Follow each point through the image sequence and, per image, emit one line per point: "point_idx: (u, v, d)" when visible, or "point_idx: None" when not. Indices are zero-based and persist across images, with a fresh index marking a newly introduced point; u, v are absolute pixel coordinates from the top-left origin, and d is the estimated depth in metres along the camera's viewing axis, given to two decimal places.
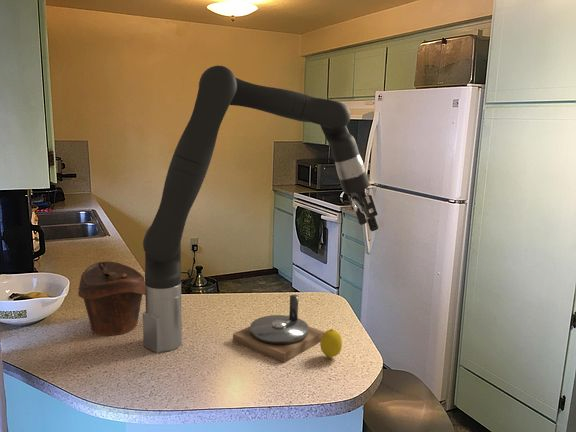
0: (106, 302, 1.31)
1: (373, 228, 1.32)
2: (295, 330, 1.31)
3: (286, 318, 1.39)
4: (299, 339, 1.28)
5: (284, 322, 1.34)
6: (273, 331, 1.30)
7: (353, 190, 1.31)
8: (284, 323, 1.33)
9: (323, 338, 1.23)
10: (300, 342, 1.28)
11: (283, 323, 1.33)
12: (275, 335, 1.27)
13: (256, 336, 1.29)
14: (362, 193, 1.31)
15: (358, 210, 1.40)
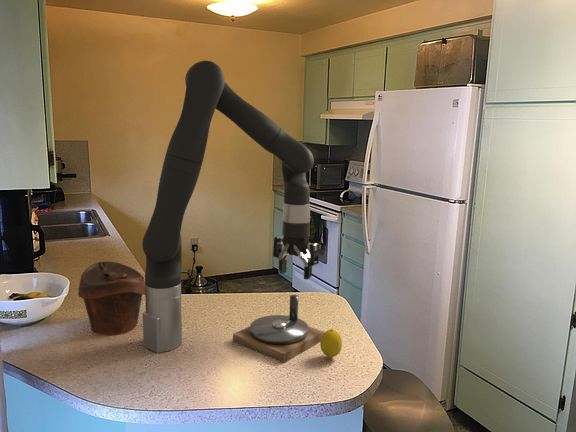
0: (106, 302, 1.31)
1: (309, 276, 1.33)
2: (295, 330, 1.31)
3: (286, 318, 1.39)
4: (299, 339, 1.28)
5: (284, 322, 1.34)
6: (273, 331, 1.30)
7: (300, 235, 1.31)
8: (284, 323, 1.33)
9: (323, 338, 1.23)
10: (300, 342, 1.28)
11: (283, 323, 1.33)
12: (275, 335, 1.27)
13: (256, 336, 1.29)
14: (306, 240, 1.32)
15: (283, 258, 1.38)
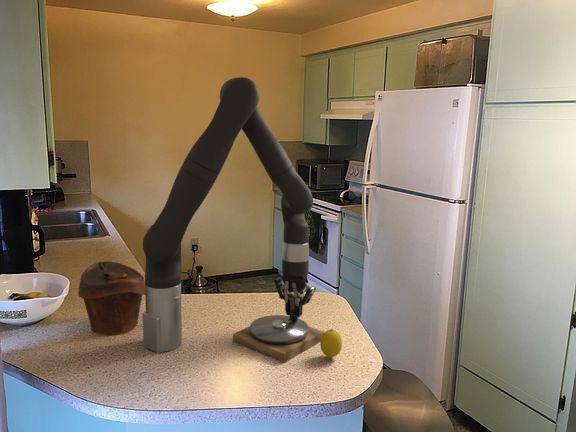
0: (106, 302, 1.31)
1: (299, 315, 1.37)
2: (295, 330, 1.31)
3: (286, 318, 1.39)
4: (299, 339, 1.28)
5: (284, 322, 1.34)
6: (273, 331, 1.30)
7: (299, 274, 1.33)
8: (284, 323, 1.33)
9: (323, 338, 1.23)
10: (300, 342, 1.28)
11: (283, 323, 1.33)
12: (275, 335, 1.27)
13: (256, 336, 1.29)
14: (305, 278, 1.34)
15: (289, 300, 1.38)
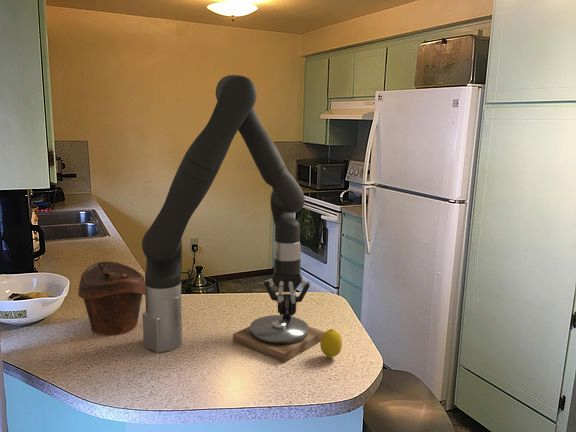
0: (106, 302, 1.31)
1: (295, 312, 1.39)
2: (297, 328, 1.33)
3: (280, 318, 1.39)
4: (305, 336, 1.30)
5: (283, 321, 1.34)
6: (278, 332, 1.30)
7: (297, 272, 1.35)
8: (284, 322, 1.34)
9: (323, 338, 1.23)
10: (300, 342, 1.28)
11: (284, 323, 1.34)
12: (283, 336, 1.28)
13: (264, 339, 1.27)
14: (300, 275, 1.37)
15: (282, 300, 1.39)
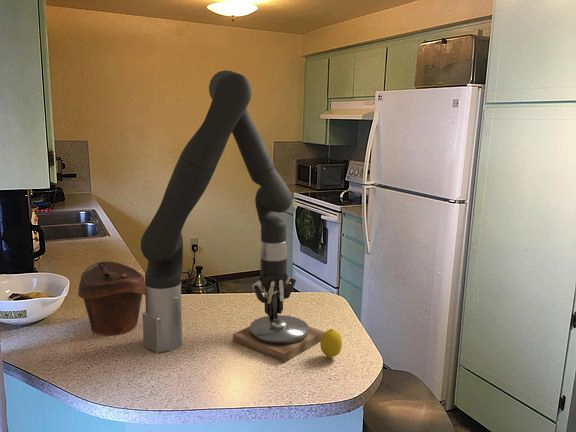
0: (106, 302, 1.31)
1: (282, 309, 1.40)
2: (296, 323, 1.36)
3: (268, 319, 1.38)
4: None
5: (281, 320, 1.35)
6: (286, 331, 1.30)
7: (286, 269, 1.37)
8: (283, 321, 1.35)
9: (323, 338, 1.23)
10: (300, 342, 1.28)
11: (283, 321, 1.34)
12: (296, 333, 1.29)
13: (282, 341, 1.26)
14: None
15: None
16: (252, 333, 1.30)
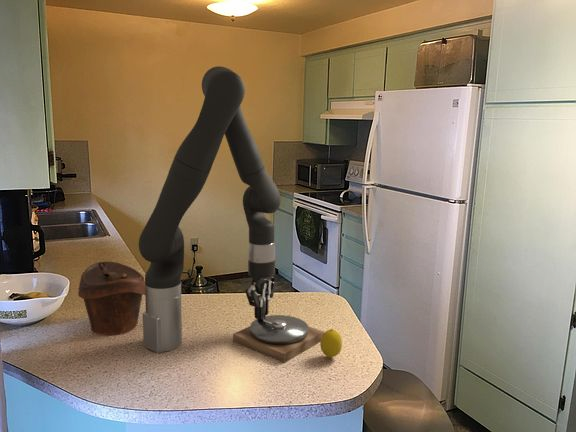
0: (106, 302, 1.31)
1: None
2: (288, 320, 1.38)
3: (260, 322, 1.36)
4: None
5: (278, 320, 1.35)
6: (292, 328, 1.32)
7: None
8: (280, 320, 1.35)
9: (323, 338, 1.23)
10: (300, 342, 1.28)
11: (281, 321, 1.35)
12: (302, 327, 1.33)
13: (299, 338, 1.28)
14: None
15: None
16: (264, 339, 1.27)
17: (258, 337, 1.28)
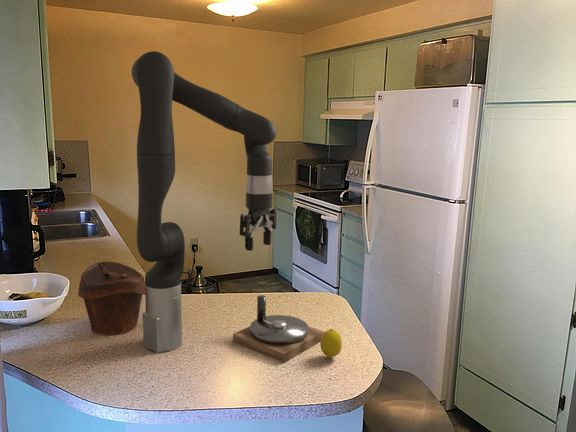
0: (106, 302, 1.31)
1: None
2: (288, 320, 1.38)
3: (260, 322, 1.36)
4: None
5: (278, 320, 1.35)
6: (292, 328, 1.32)
7: None
8: (280, 320, 1.35)
9: (323, 338, 1.23)
10: (300, 342, 1.28)
11: (281, 321, 1.35)
12: (302, 327, 1.33)
13: (299, 338, 1.28)
14: None
15: None
16: (264, 339, 1.27)
17: (258, 337, 1.28)
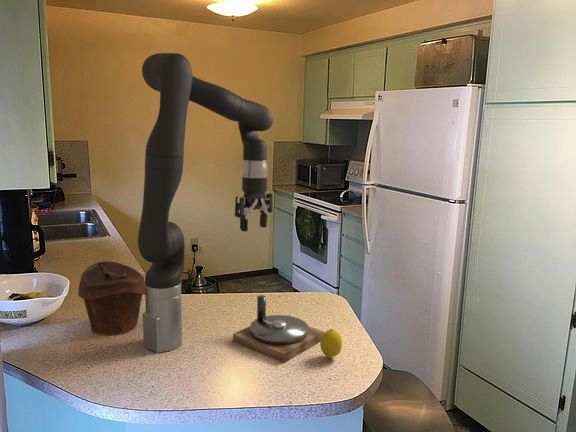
0: (106, 302, 1.31)
1: None
2: (288, 320, 1.38)
3: (260, 322, 1.36)
4: None
5: (278, 320, 1.35)
6: (292, 328, 1.32)
7: None
8: (280, 320, 1.35)
9: (323, 338, 1.23)
10: (300, 342, 1.28)
11: (281, 321, 1.35)
12: (302, 327, 1.33)
13: (299, 338, 1.28)
14: None
15: None
16: (264, 339, 1.27)
17: (258, 337, 1.28)
